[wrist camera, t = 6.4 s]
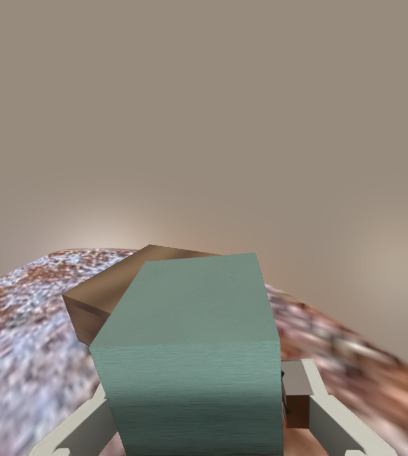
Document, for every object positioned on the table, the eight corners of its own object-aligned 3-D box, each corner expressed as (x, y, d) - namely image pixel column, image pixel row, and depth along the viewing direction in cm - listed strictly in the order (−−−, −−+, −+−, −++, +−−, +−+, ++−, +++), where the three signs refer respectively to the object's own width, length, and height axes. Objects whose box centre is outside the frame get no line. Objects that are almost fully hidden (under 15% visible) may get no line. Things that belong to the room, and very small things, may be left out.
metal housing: (162, 556, 10) (88, 347, 7) (181, 424, 15) (145, 261, 11) (286, 563, 10) (279, 340, 6) (266, 424, 14) (255, 252, 11)
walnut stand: (78, 339, 23) (61, 294, 21) (157, 280, 31) (149, 244, 30) (169, 389, 17) (155, 331, 15) (235, 299, 26) (231, 256, 24)
